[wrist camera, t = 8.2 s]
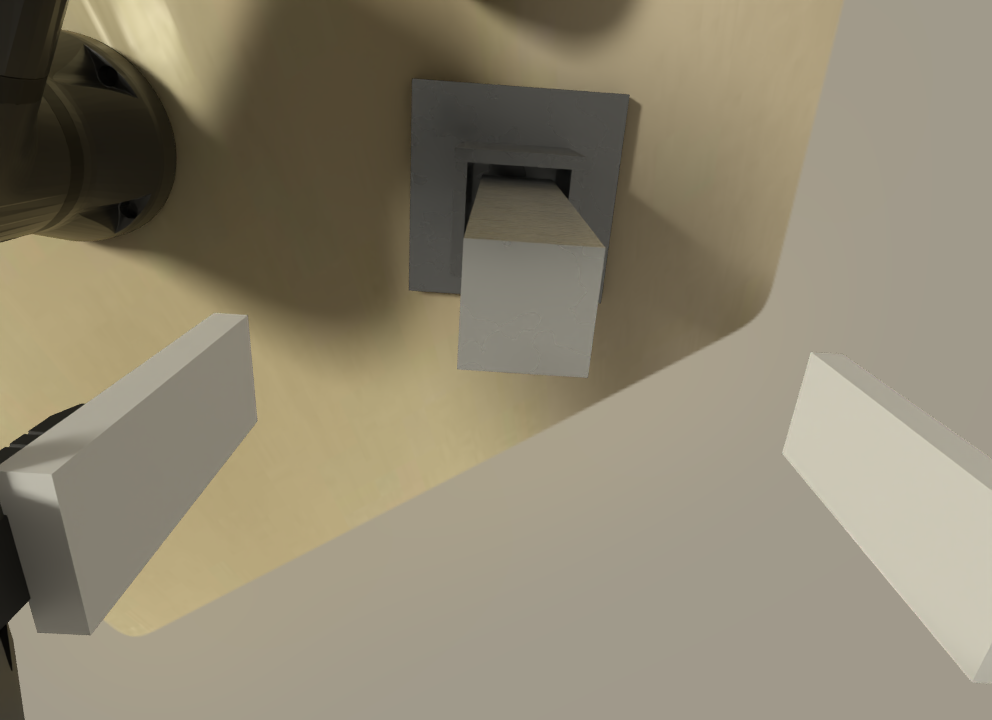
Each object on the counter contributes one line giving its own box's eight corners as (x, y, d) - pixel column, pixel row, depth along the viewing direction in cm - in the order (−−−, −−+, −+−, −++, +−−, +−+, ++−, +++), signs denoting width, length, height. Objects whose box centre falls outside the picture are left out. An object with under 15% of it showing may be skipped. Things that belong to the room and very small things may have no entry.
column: (478, 252, 42) (456, 384, 22) (482, 174, 40) (463, 237, 20) (544, 257, 42) (585, 393, 22) (552, 179, 40) (605, 248, 20)
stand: (411, 286, 52) (388, 330, 41) (414, 79, 46) (388, 69, 35) (598, 299, 52) (623, 345, 42) (626, 95, 46) (663, 89, 36)
